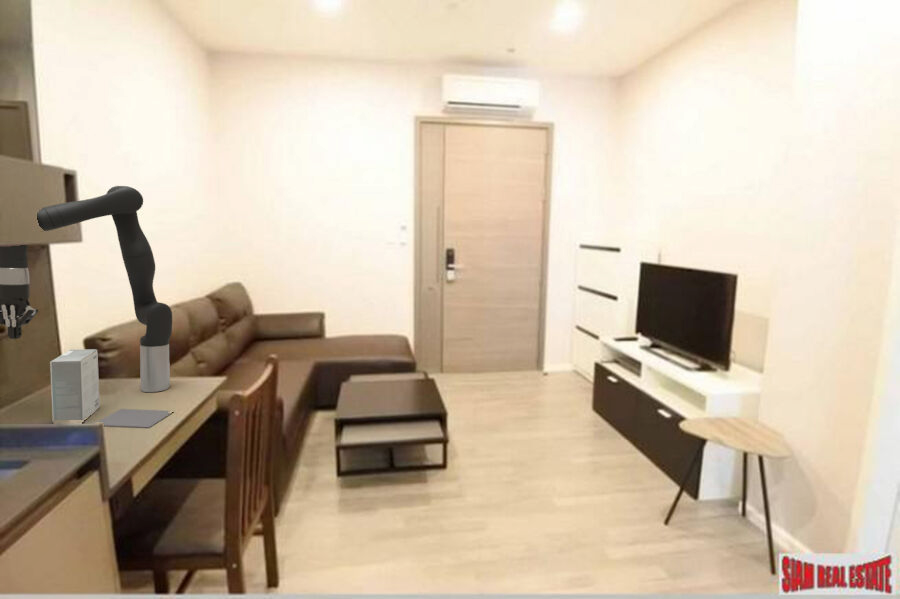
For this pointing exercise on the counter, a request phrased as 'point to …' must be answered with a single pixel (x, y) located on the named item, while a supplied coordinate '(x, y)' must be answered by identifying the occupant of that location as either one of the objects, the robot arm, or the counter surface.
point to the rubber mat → (134, 418)
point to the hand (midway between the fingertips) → (14, 338)
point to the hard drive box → (75, 385)
